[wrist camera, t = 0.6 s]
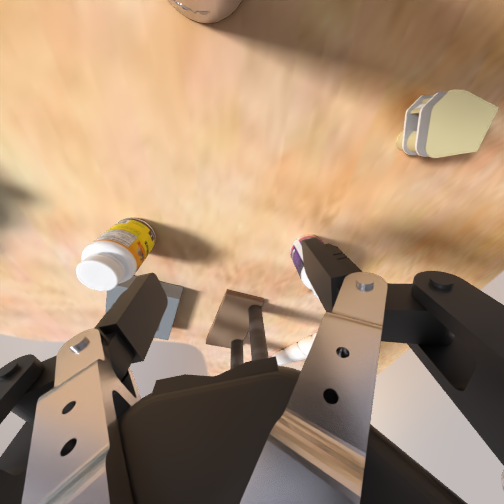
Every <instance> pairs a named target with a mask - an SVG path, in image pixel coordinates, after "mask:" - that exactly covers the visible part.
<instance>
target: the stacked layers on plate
mask: <svg viewBox="0 0 504 504" xmlns="http://www.w3.org/2000/svg"><path fill="white" fill-rule="evenodd" d="M498 109H499V108H498V107H497V106H495V105H493V104H491V103H489V102H487V101H485V100H483V99H481V98H480V97H478V96H476V95H474V94H472V93H470V92H468V91H466V90H457V89H451V90H450V91H449V92H437V93H436V94H435V95H421V96H420V97H419V98H418V99H417V100H416V101H415V102H414V103H413V104H412V105H411V106H410V107H409V108H408V109H407V111H406V114H405V122H404V131H402V132H401V133H400V134H399V136H398V138H397V141H396V145H397V148H398V149H399V150H402V151H404V152H405V153H406V154H408V155H417V154H418V155H419V156H422V157H429V156H430V157H432V158H439V157H445V156H451V155H458V154H464V153H470V152H476V151H477V150H478V148H479V146H480V144H481V142H482V140H483V138H484V136H485V134H486V133H487V131H488V129H489V127H490V125H491V123H492V121H493V119H494V117H495V115H496V113H497V111H498Z"/></svg>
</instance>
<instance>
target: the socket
mask: <svg viewBox="0 0 504 504" xmlns="http://www.w3.org/2000/svg"><path fill="white" fill-rule="evenodd" d="M136 277H137V276H135V275H133V277H132V278H131V279H129V280H128V281H126V282H123V283H118V285H117V286H116V287H115V288H113V289H111V290H108V291H107V298H106V313H107V311H108V310H109V309H111V306H112V305H113V304H114V303H116V300H117V299H118V297H119V296H120V295H121V294H122V293H123V292H124V291H125V290H127V289H128V288H129V286H130V285H131V284H132V282H133V281H134V280H135V279H136ZM159 282H160V281H159ZM160 284H161V286H162V287H163V289H164V291H165V293H166V295H167V299H168V305H167V308H166V310H165V312H164V315H163V317H162V319H161V322H160V324H159V326H158V329H157V331H156V333H155V336H154V338H159V339H165V340H168V339H169V335H170V332H171V329H172V326H173V323H174V319H175V316H176V312H177V309H178V305H179V302H180V298H181V295H182V291H183V288H184V287H181V286H177V285H173V284H169V283H164V282H160Z"/></svg>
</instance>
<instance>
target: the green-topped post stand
mask: <svg viewBox="0 0 504 504" xmlns="http://www.w3.org/2000/svg"><path fill="white" fill-rule="evenodd" d="M263 304H264V300H263V298H260V297H256V296H252V295H248V294H243V293H239V292H235V291H231V290H227V291H226V293H225V296H224V298H223V300H222V303H221V305H220V307H219V310H218V312H217V315H216V317H215V319H214V322H213V324H212V327H211V329H210V331H209V334H208V336H207V339H206V344H209V345H215V346H221V347H226V348H231V369H233V368H235V367H237V366H239V365H241V364H243V340H244V338H245V337H246V335H247V333H248V331H249V329H250V341H251V355H252V361H255V360H259V359H264V358H268V351H267V344H266V338H265V331H264V324H263V317H262V310H261V307H262V306H263Z"/></svg>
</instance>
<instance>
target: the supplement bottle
mask: <svg viewBox="0 0 504 504" xmlns="http://www.w3.org/2000/svg"><path fill="white" fill-rule="evenodd" d="M155 243H156V235H155V232H154V230H153V229H152V227H151V226H150V225H149V224H147V223H146V222H144V221H143V220H140V219H137V218H126V219H123V220H121V221H119V222H118V223H117V224H115V225H114V226H113V227H111V228H110V229H109V230H107V231H106V232H105V233H104V234H102V235H101V236H100V237H98V238H97V239H96V240H95V241H93V242H92V243H91V244H89V245H88V246H87V247H86V248H85V249H84V251H83V253H82V262H81V263H80V264H79V265H78V266H77V268H76V275H77V277H78V279H79V280H80V281H81V282H82V283H83V284H84V285H85V286H87V287H89V288H91V289H94V290H97V291H108V290H111V289H113V288H115V287H116V286H117V285H118V283H123V282H126V281H128V280H129V279H131V278H132V277H133V275H134V274H135V273H136V271H137V270H138V269H139V267H140V266H141V264H142V263H143V261H144V260H145V259H146V257H147V256H148V254H149V253H150V251H151V250H152V249H153V247H154V245H155Z"/></svg>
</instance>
